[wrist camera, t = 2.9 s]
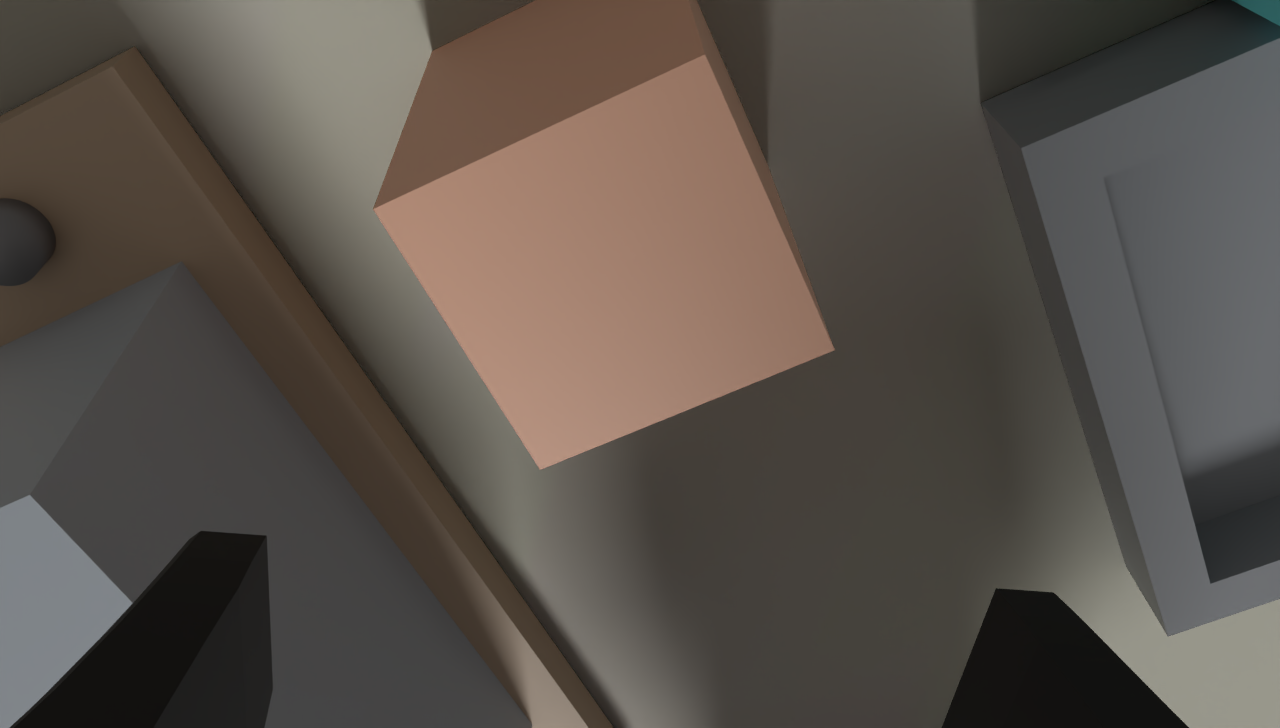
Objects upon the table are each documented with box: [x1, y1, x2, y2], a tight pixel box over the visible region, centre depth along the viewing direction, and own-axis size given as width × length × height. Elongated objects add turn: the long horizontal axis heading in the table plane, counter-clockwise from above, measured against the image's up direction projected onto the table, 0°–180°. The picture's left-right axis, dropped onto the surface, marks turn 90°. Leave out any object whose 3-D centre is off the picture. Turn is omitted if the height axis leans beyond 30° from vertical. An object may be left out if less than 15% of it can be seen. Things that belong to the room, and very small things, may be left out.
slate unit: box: [0, 46, 613, 728], centre depth 20 cm, size 18×6×7 cm, turn 25°
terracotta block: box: [373, 0, 835, 470], centre depth 16 cm, size 4×4×6 cm
